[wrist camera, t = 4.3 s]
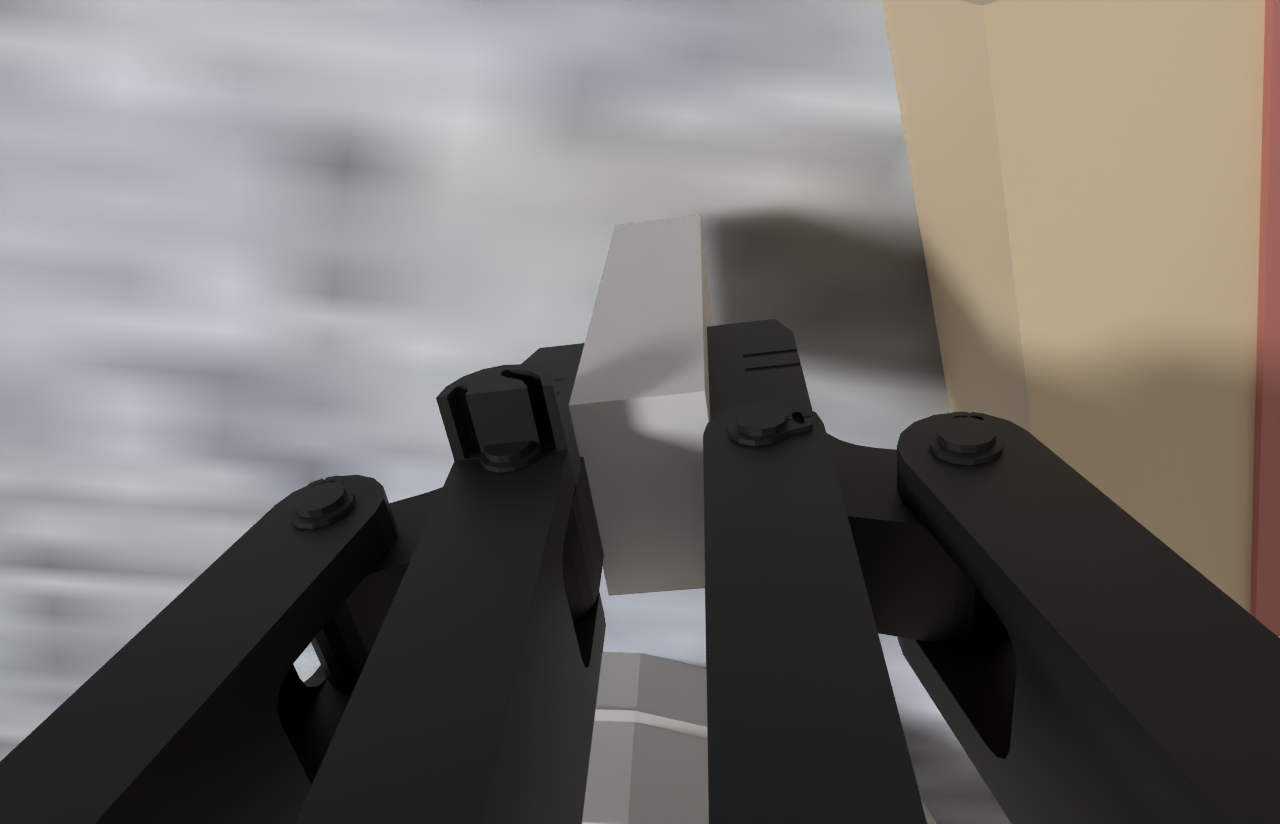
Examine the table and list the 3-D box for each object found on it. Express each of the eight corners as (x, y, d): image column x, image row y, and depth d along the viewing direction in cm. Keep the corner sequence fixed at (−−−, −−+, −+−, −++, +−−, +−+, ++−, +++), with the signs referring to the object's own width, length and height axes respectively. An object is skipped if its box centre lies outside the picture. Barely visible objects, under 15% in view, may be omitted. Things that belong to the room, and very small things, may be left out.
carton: (875, -26, 14) (986, 2, 9) (1411, -207, 13) (1923, -302, 8) (957, 463, 19) (1062, 673, 14) (1360, 373, 17) (1657, 569, 12)
